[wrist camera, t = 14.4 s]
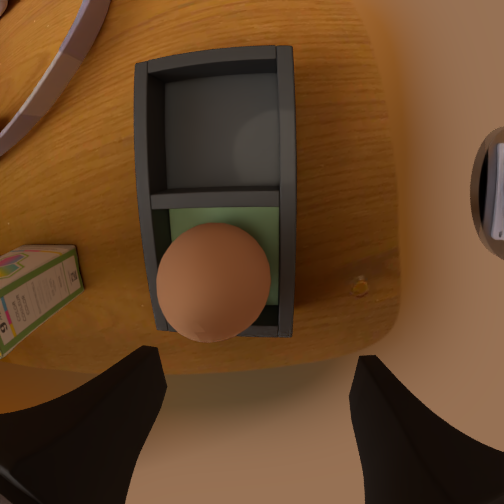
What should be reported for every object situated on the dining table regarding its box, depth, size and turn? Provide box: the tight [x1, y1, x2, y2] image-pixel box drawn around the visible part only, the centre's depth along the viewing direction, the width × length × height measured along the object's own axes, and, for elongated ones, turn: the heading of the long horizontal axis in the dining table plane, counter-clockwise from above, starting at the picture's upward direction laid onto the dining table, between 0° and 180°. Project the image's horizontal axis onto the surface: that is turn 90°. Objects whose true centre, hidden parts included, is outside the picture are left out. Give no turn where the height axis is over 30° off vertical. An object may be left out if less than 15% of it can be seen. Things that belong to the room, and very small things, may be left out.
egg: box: [156, 223, 271, 342], centre depth 14 cm, size 5×5×7 cm
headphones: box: [0, 0, 111, 156], centre depth 11 cm, size 22×7×20 cm
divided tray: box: [134, 45, 297, 337], centre depth 15 cm, size 8×15×3 cm, turn 1°
